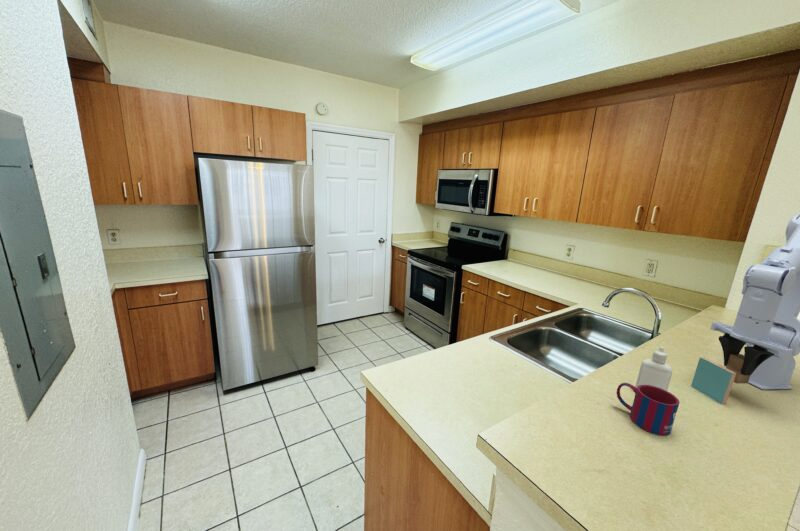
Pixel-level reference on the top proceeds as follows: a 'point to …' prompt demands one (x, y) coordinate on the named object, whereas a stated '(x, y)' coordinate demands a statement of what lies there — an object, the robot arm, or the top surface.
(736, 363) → the block
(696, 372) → the tile
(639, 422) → the mug
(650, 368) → the eye dropper bottle
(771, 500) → the top surface
